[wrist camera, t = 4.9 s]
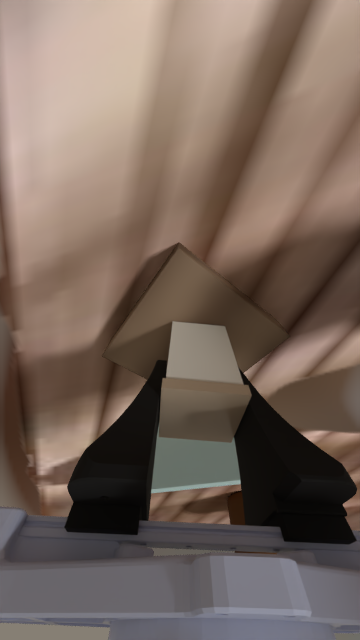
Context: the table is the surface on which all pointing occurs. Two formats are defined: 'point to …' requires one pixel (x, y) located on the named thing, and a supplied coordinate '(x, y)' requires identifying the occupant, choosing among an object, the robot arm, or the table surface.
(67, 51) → the table surface
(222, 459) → the l-shaped corner panel
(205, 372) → the beige rectangular block
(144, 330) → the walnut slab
